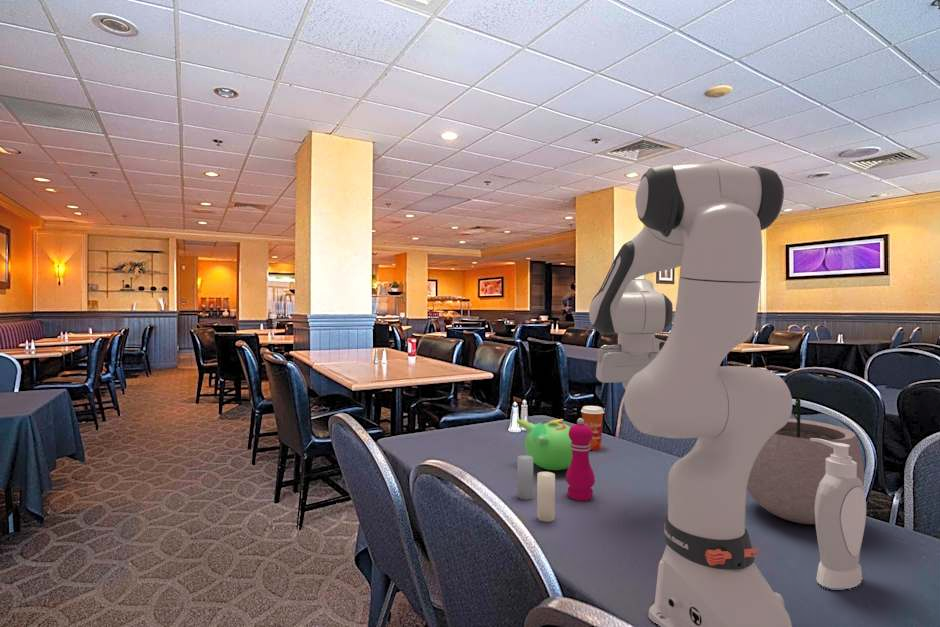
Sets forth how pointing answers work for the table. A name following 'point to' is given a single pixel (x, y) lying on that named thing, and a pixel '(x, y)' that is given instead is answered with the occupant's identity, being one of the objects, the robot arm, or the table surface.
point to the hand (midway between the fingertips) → (635, 399)
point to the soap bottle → (839, 519)
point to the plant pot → (797, 466)
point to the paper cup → (594, 424)
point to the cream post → (546, 496)
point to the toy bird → (548, 444)
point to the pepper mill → (580, 463)
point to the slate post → (525, 477)
